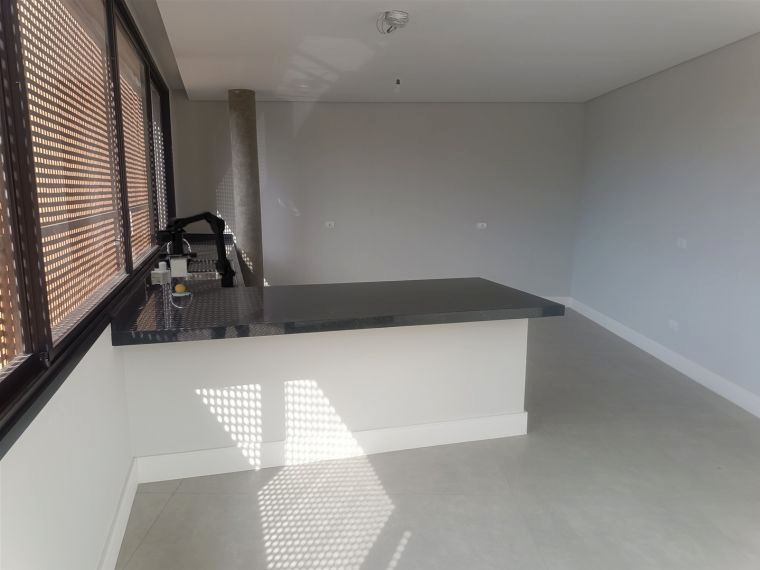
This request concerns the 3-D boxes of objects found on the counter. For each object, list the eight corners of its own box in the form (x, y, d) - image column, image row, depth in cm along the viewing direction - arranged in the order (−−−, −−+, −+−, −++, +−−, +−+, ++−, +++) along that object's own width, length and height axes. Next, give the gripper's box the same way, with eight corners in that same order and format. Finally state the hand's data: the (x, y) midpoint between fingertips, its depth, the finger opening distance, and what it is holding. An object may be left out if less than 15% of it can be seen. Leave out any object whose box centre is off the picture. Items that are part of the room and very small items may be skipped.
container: (151, 284, 309) (149, 262, 307) (160, 282, 317) (159, 260, 314) (162, 285, 307) (161, 263, 305) (171, 282, 314) (169, 261, 312)
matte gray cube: (187, 274, 284) (186, 258, 283) (187, 276, 277) (186, 259, 275) (172, 274, 282) (171, 258, 280) (171, 277, 275) (170, 260, 273)
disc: (190, 291, 287) (190, 291, 287) (190, 295, 278) (190, 295, 278) (171, 293, 284) (171, 292, 284) (170, 296, 275) (170, 296, 275)
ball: (184, 288, 280) (185, 295, 284) (185, 282, 284) (185, 289, 287) (174, 288, 279) (175, 295, 282) (175, 282, 283) (175, 289, 286)
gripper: (196, 240, 286) (197, 268, 289) (159, 240, 281) (161, 269, 283) (196, 242, 276) (197, 271, 279) (157, 242, 270) (159, 272, 273)
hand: (179, 271), depth 279 cm, fingers closed on matte gray cube, 8 cm apart
